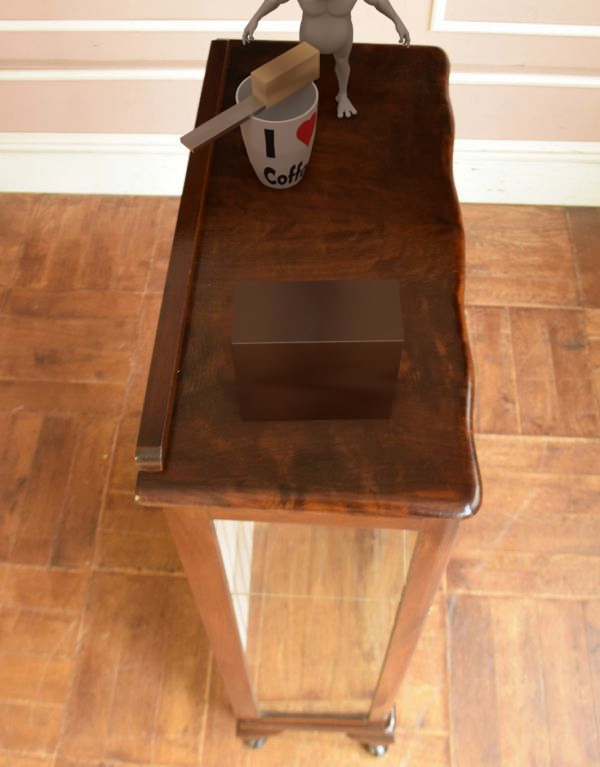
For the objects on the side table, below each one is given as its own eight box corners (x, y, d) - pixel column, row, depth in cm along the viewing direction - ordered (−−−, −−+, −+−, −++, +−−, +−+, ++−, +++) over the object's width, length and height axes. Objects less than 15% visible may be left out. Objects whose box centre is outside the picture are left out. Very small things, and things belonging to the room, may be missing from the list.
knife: (304, 67, 78) (304, 40, 76) (319, 77, 77) (320, 50, 75) (179, 142, 73) (174, 116, 70) (194, 154, 72) (190, 128, 69)
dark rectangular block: (385, 361, 71) (398, 278, 61) (390, 418, 68) (404, 340, 58) (244, 364, 71) (233, 281, 61) (242, 421, 68) (231, 344, 58)
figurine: (245, 125, 89) (232, -29, 73) (249, 87, 92) (238, -68, 77) (402, 129, 88) (422, -26, 73) (400, 90, 92) (419, -65, 76)
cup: (258, 207, 82) (252, 131, 73) (232, 157, 86) (224, 80, 77) (328, 186, 83) (331, 109, 75) (300, 138, 87) (299, 60, 79)
